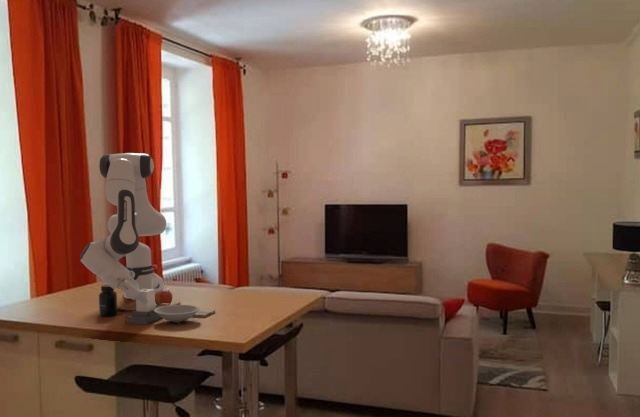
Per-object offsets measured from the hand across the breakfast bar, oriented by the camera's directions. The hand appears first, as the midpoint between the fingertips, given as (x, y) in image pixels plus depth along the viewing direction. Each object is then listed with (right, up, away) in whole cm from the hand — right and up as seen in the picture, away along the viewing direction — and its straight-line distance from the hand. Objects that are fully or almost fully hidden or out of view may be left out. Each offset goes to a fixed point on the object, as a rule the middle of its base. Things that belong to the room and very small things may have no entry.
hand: (146, 299), depth 210 cm
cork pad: (+20, -7, +7) cm, 22 cm away
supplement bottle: (-18, -8, +9) cm, 22 cm away
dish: (+13, -8, -4) cm, 16 cm away
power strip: (+2, -7, +7) cm, 10 cm away
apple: (+1, -7, +20) cm, 21 cm away
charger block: (0, -5, 0) cm, 5 cm away
